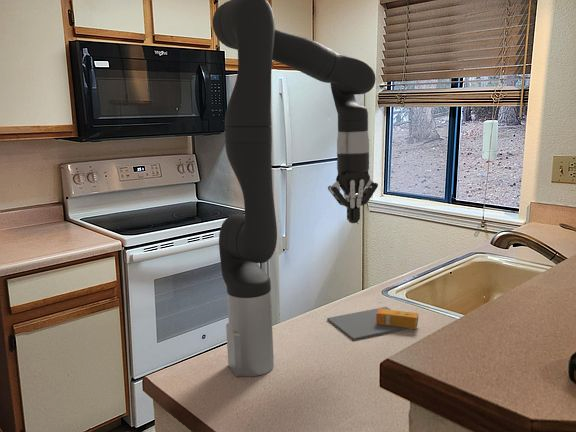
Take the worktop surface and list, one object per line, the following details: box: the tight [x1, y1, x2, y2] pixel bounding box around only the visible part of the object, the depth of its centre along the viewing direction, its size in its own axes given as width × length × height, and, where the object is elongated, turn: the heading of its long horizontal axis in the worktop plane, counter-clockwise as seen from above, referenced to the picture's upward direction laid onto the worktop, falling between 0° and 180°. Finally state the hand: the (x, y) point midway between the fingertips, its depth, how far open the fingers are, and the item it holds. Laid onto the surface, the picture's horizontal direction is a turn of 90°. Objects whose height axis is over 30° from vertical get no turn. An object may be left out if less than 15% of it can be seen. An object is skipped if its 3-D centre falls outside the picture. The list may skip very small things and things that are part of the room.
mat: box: [327, 306, 412, 341], centre depth 135 cm, size 18×14×1 cm
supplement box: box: [376, 309, 419, 330], centre depth 132 cm, size 3×3×10 cm
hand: (353, 222), depth 128 cm, fingers closed
